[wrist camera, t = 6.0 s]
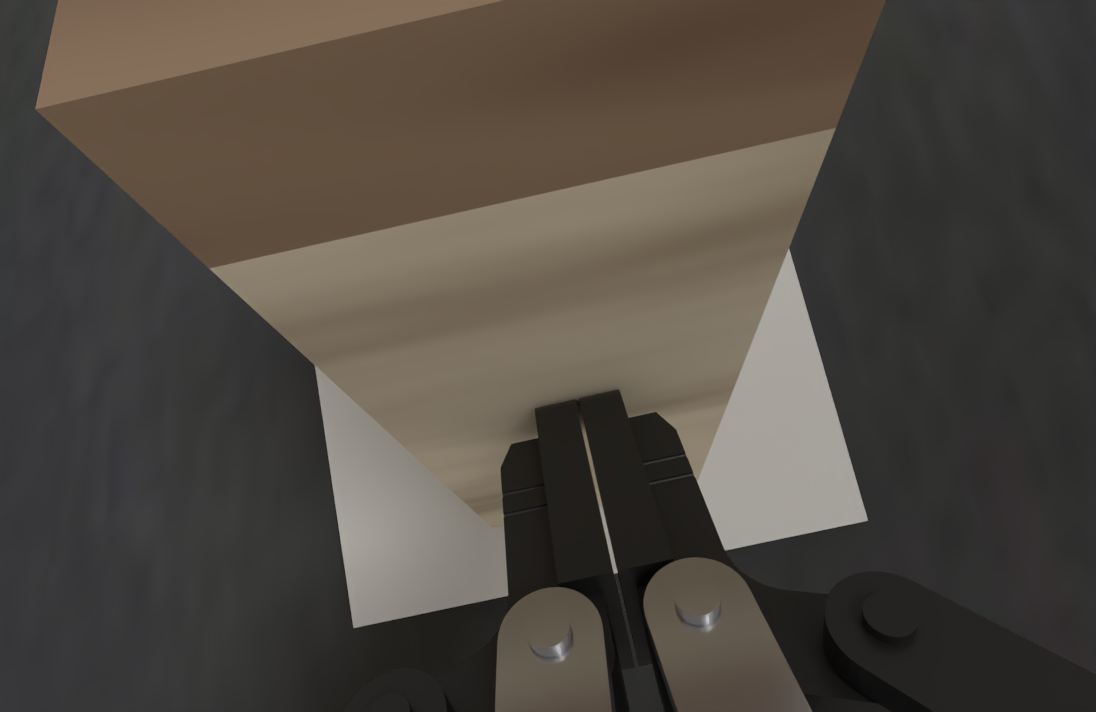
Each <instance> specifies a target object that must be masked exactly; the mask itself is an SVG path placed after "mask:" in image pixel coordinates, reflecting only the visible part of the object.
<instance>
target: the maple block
mask: <svg viewBox="0 0 1096 712" xmlns="http://www.w3.org/2000/svg"><path fill="white" fill-rule="evenodd" d="M885 1H886V0H58V4H57V9H56V14H55V18H54V23H53V28H52V33H51V37H50V42H49V47H48V52H47V56H46V61H45V66H44V71H43V75H42V80H41V85H40V90H39V94H38V99H37V104H36V110H37V111H38V112H39V113H40V114H41V115H42V116H43V117H44V118H46V119H47V120H48V121H49V122H50V123H51V124H52V125H53V126H54V127H55V128H56V129H58V130H59V131H60V132H61V133H62V134H63V135H64V136H65V137H66V138H67V139H68V140H70V141H71V142H72V143H73V144H74V145H75V146H76V147H77V148H78V149H79V150H80V151H82V152H83V153H84V154H85V155H86V156H87V157H88V158H89V159H90V160H91V161H92V162H94V163H95V164H96V165H97V166H98V167H99V168H100V169H101V170H102V171H103V172H104V173H106V174H107V175H108V176H109V177H110V178H111V179H112V180H113V181H114V182H115V183H116V184H118V185H119V186H120V187H121V188H122V189H123V190H124V191H125V192H126V193H127V194H128V195H130V196H131V197H132V198H133V199H134V200H135V201H136V202H137V203H138V204H139V205H140V206H142V207H143V208H144V209H145V210H146V211H147V212H148V213H149V214H150V215H151V216H152V217H154V218H155V219H156V220H157V221H158V222H159V223H160V224H161V225H162V226H163V227H164V228H166V229H167V230H168V231H169V232H170V233H171V234H172V235H173V236H174V237H175V238H176V239H178V240H179V241H180V242H181V243H182V244H183V245H184V246H185V247H186V248H187V249H188V250H190V251H191V252H192V253H193V254H194V255H195V256H196V257H197V258H198V259H199V260H200V261H202V262H203V263H204V264H205V265H206V266H207V267H208V268H209V269H210V270H211V271H212V272H214V273H215V274H216V275H217V276H218V277H219V278H220V279H221V280H222V281H223V282H224V283H226V284H227V285H228V286H229V287H230V288H231V289H232V290H233V291H234V292H235V293H236V294H238V295H239V296H240V297H241V298H242V299H243V300H244V301H245V302H246V303H247V304H248V305H250V306H251V307H252V308H253V309H254V310H255V311H256V312H257V313H258V314H259V315H260V316H262V317H263V318H264V319H265V320H266V321H267V322H268V323H269V324H270V325H271V326H272V327H274V328H275V329H276V330H277V331H278V332H279V333H280V334H281V335H282V336H283V337H284V338H286V339H287V340H288V341H289V342H290V343H291V344H292V345H293V346H294V347H295V348H296V349H298V350H299V351H300V352H301V353H302V354H303V355H304V356H305V357H306V358H307V359H308V360H310V361H311V362H312V363H313V364H314V365H315V366H316V367H317V368H318V369H319V370H320V371H322V372H323V373H324V374H325V375H326V376H327V377H328V378H329V379H330V380H331V381H332V382H334V383H335V384H336V385H337V386H338V387H339V388H340V389H341V390H342V391H343V392H344V393H346V394H347V395H348V396H349V397H350V398H351V399H352V400H353V401H354V402H355V403H356V404H358V405H359V406H360V407H361V408H362V409H363V410H364V411H365V412H366V413H367V414H368V415H370V416H371V417H372V418H373V419H374V420H375V421H376V422H377V423H378V424H379V425H380V426H382V427H383V428H384V429H385V430H386V431H387V432H388V433H389V434H390V435H391V436H392V437H394V438H395V439H396V440H397V441H398V442H399V443H400V444H401V445H402V446H403V447H404V448H406V449H407V450H408V451H409V452H410V453H411V454H412V455H413V456H414V457H415V458H416V459H418V460H419V461H420V462H421V463H422V464H423V465H424V466H425V467H426V468H427V469H428V470H430V471H431V472H432V473H433V474H434V475H435V476H436V477H437V478H438V479H439V480H440V481H442V482H443V483H444V484H445V485H446V486H447V487H448V488H449V489H450V490H451V491H452V492H454V493H455V494H456V495H457V496H458V497H459V498H460V499H461V500H462V501H463V502H464V503H466V504H467V505H468V506H469V507H470V508H471V509H472V510H473V511H474V512H475V513H476V514H478V515H479V516H480V517H481V518H482V519H483V520H484V521H485V522H486V523H487V524H488V525H490V526H491V527H497V526H502V525H504V514H503V501H502V498H503V495H502V485H501V469H500V468H501V466H502V463H503V461H504V459H505V457H506V454H507V452H508V450H509V447H510V445H511V444H513V443H518V442H522V441H527V440H531V439H536V438H538V432H537V425H536V417H535V408H538V407H543V406H547V405H552V404H556V403H561V402H565V401H570V400H574V399H575V402H576V406H577V411H578V415H579V420H580V424H581V428H582V433H583V437H584V442H585V446H586V451H587V455H588V460H589V464H590V468H591V473H592V477H593V482H594V486H595V491H596V495H597V500H598V504H599V505H601V504H602V502H601V497H600V493H599V488H598V484H597V480H596V475H595V471H594V466H593V462H592V457H591V453H590V448H589V443H588V439H587V434H586V430H585V425H584V421H583V416H582V412H581V407H580V403H579V398H582V397H587V396H591V395H596V394H600V393H605V392H609V391H614V390H618V389H619V391H620V393H621V396H622V399H623V402H624V405H625V409H626V412H627V415H628V418H630V417H635V416H639V415H644V414H648V413H653V412H657V413H658V414H659V415H660V416H661V417H662V418H664V419H665V420H666V421H667V422H668V423H669V424H671V425H672V426H673V427H674V428H675V429H676V430H677V433H678V435H679V438H680V440H681V443H682V445H683V448H684V450H685V453H686V457H687V458H688V460H689V463H690V465H691V468H692V470H693V474H694V477H695V478H696V480H697V481H698V479H699V476H700V474H701V471H702V469H703V466H704V464H705V461H706V458H707V456H708V453H709V451H710V448H711V446H712V443H713V441H714V438H715V435H716V433H717V430H718V428H719V425H720V423H721V420H722V418H723V415H724V413H725V410H726V407H727V405H728V402H729V400H730V397H731V395H732V392H733V390H734V387H735V384H736V382H737V379H738V377H739V374H740V372H741V369H742V367H743V364H744V361H745V359H746V356H747V354H748V351H749V349H750V346H751V344H752V341H753V338H754V336H755V333H756V331H757V328H758V326H759V323H760V321H761V318H762V315H763V313H764V310H765V308H766V305H767V303H768V300H769V298H770V295H771V292H772V290H773V287H774V285H775V282H776V280H777V277H778V275H779V272H780V269H781V267H782V264H783V262H784V259H785V257H786V254H787V252H788V249H789V247H790V244H791V241H792V239H793V236H794V234H795V231H796V229H797V226H798V224H799V221H800V218H801V216H802V213H803V211H804V208H805V206H806V203H807V201H808V198H809V195H810V193H811V190H812V188H813V185H814V183H815V180H816V178H817V175H818V172H819V170H820V167H821V165H822V162H823V160H824V157H825V155H826V152H827V149H828V147H829V144H830V142H831V139H832V137H833V134H834V132H835V129H836V126H837V124H838V121H839V119H840V116H841V114H842V111H843V109H844V106H845V103H846V101H847V98H848V96H849V93H850V91H851V88H852V86H853V83H854V80H855V78H856V75H857V73H858V70H859V68H860V65H861V63H862V60H863V58H864V55H865V52H866V50H867V47H868V45H869V42H870V40H871V37H872V35H873V32H874V29H875V27H876V24H877V22H878V19H879V17H880V14H881V12H882V9H883V6H884V4H885Z"/></svg>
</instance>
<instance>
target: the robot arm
mask: <svg viewBox="0 0 1096 712" xmlns="http://www.w3.org/2000/svg"><path fill="white" fill-rule="evenodd" d="M579 403H580V407H581V412H582V416H583V421H584V425H585V430H586V434H587V439H588V443H589V448H590V453H591V457H592V462H593V466H594V471H595V475H596V480H597V484H598V488H599V493H600V497H601V502H602V506H603V510H604V515H605V519H606V524H607V528H608V532H609V537H610V541H611V545H612V550H613V554H614V559H615V563H616V567H617V572H618V576H619V581H620V585H621V589H622V594H623V598H624V603H625V607H626V611H627V616H628V620H629V625H630V629H631V633H632V638H633V642H634V646H635V651H636V655H637V660H638V664H639V666H642V665H646V664H651V663H652V664H653V668H654V672H655V676H656V680H657V685H658V689H659V693H660V697H661V701H662V707H663V712H1096V675H1095V674H1093V673H1091V672H1089V671H1087V670H1085V669H1083V668H1081V667H1080V666H1078V665H1076V664H1074V663H1072V662H1070V661H1068V660H1066V659H1064V658H1062V657H1060V656H1058V655H1056V654H1054V653H1052V652H1050V651H1048V650H1046V649H1044V648H1042V647H1040V646H1038V645H1036V644H1035V643H1033V642H1031V641H1029V640H1027V639H1025V638H1023V637H1021V636H1019V635H1017V634H1015V633H1013V632H1011V631H1009V630H1007V629H1005V628H1003V627H1001V626H999V625H997V624H995V623H993V622H991V621H990V620H988V619H986V618H984V617H982V616H980V615H978V614H976V613H974V612H972V611H970V610H968V609H966V608H964V607H962V606H960V605H958V604H956V603H954V602H952V601H950V600H948V599H947V598H945V597H943V596H941V595H939V594H937V593H935V592H933V591H931V590H929V589H927V588H925V587H923V586H921V585H919V584H917V583H915V582H913V581H911V580H909V579H906V578H904V577H901V576H898V575H894V574H890V573H884V572H863V573H858V574H854V575H851V576H849V577H847V578H845V579H843V580H842V581H840V582H839V583H838V584H836V586H835V587H834V588H833V589H832V590H831V592H830V594H819V593H808V592H797V591H787V590H781V589H776V588H772V587H769V586H766V585H763V584H761V583H759V582H756V581H755V580H753V579H751V578H750V577H748V576H747V575H745V574H744V573H743V572H741V571H740V570H739V569H738V568H737V567H736V566H735V565H734V564H733V563H732V561H731V560H730V559H729V557H728V556H727V554H726V552H725V550H724V547H723V545H722V542H721V540H720V537H719V535H718V532H717V530H716V527H715V525H714V522H713V520H712V517H711V515H710V512H709V510H708V508H707V505H706V503H705V500H704V498H703V495H702V493H701V490H700V488H699V485H698V483H697V480H696V478H695V477H694V474H693V470H692V468H691V465H690V463H689V460H688V458H687V457H686V453H685V450H684V448H683V445H682V443H681V440H680V438H679V435H678V433H677V430H676V429H675V428H674V427H673V426H672V425H671V424H669V423H668V422H667V421H666V420H665V419H664V418H662V417H661V416H660V415H659V414H658V413H657V412H653V413H648V414H644V415H639V416H635V417H630V418H628V415H627V412H626V409H625V405H624V402H623V399H622V396H621V393H620V391H619V389H618V390H614V391H609V392H605V393H600V394H596V395H591V396H587V397H582V398H579ZM535 417H536V425H537V432H538V438H536V439H531V440H527V441H522V442H518V443H513V444H511V445H510V447H509V450H508V452H507V454H506V457H505V459H504V461H503V463H502V466H501V468H500V469H501V485H502V495H503V498H502V501H503V514H504V534H505V550H506V567H507V583H508V607H507V612H506V615H505V618H504V620H503V622H502V624H501V626H500V628H499V630H498V632H497V633H496V635H495V636H494V637H493V639H492V640H491V641H490V642H489V643H488V644H487V645H486V646H485V647H484V648H483V649H482V650H480V651H479V652H478V653H477V654H475V655H474V656H472V657H471V658H469V659H467V660H466V661H464V662H462V663H460V664H458V665H457V666H455V667H453V668H451V669H450V670H448V671H446V672H444V673H443V674H441V675H439V676H437V677H435V678H433V677H432V676H431V675H429V674H428V673H426V672H424V671H422V670H419V669H414V668H399V669H394V670H391V671H387V672H385V673H383V674H381V675H379V676H377V677H375V678H374V679H372V680H371V681H369V682H368V683H367V684H365V685H364V686H363V687H362V688H361V689H360V690H359V691H358V692H357V693H356V694H355V695H354V697H353V698H352V699H351V700H350V701H349V703H348V704H347V705H346V707H345V708H344V709H343V710H342V712H629V705H628V700H627V695H626V690H625V685H624V680H623V676H622V671H621V670H624V669H629V668H634V662H633V658H632V653H631V649H630V644H629V640H628V635H627V631H626V626H625V622H624V617H623V613H622V608H621V604H620V599H619V595H618V590H617V586H616V581H615V577H614V572H613V568H612V563H611V559H610V554H609V549H608V545H607V540H606V536H605V531H604V527H603V522H602V518H601V513H600V509H599V504H598V500H597V495H596V491H595V486H594V482H593V477H592V473H591V468H590V464H589V460H588V455H587V451H586V446H585V442H584V437H583V433H582V428H581V424H580V420H579V415H578V411H577V406H576V402H575V399H574V400H570V401H565V402H561V403H556V404H552V405H547V406H543V407H538V408H535Z"/></svg>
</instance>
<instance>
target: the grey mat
mask: <svg viewBox="0 0 1096 712" xmlns="http://www.w3.org/2000/svg"><path fill="white" fill-rule="evenodd" d="M315 370H316V376H317V383H318V390H319V397H320V404H321V410H322V417H323V424H324V431H325V438H326V444H327V451H328V458H329V465H330V472H331V478H332V485H333V492H334V499H335V506H336V512H337V519H338V526H339V533H340V540H341V546H342V553H343V560H344V567H345V574H346V580H347V587H348V594H349V601H350V608H351V614H352V621H353V628H356V627H361V626H366V625H371V624H376V623H380V622H385V621H390V620H395V619H399V618H404V617H409V616H414V615H419V614H423V613H428V612H433V611H438V610H443V609H447V608H452V607H457V606H462V605H467V604H471V603H476V602H481V601H486V600H490V599H495V598H500V597H505V596H508V583H507V567H506V550H505V534H504V525H502V526H497V527H491V526H490V525H488V524H487V523H486V522H485V521H484V520H483V519H482V518H481V517H480V516H479V515H478V514H476V513H475V512H474V511H473V510H472V509H471V508H470V507H469V506H468V505H467V504H466V503H464V502H463V501H462V500H461V499H460V498H459V497H458V496H457V495H456V494H455V493H454V492H452V491H451V490H450V489H449V488H448V487H447V486H446V485H445V484H444V483H443V482H442V481H440V480H439V479H438V478H437V477H436V476H435V475H434V474H433V473H432V472H431V471H430V470H428V469H427V468H426V467H425V466H424V465H423V464H422V463H421V462H420V461H419V460H418V459H416V458H415V457H414V456H413V455H412V454H411V453H410V452H409V451H408V450H407V449H406V448H404V447H403V446H402V445H401V444H400V443H399V442H398V441H397V440H396V439H395V438H394V437H392V436H391V435H390V434H389V433H388V432H387V431H386V430H385V429H384V428H383V427H382V426H380V425H379V424H378V423H377V422H376V421H375V420H374V419H373V418H372V417H371V416H370V415H368V414H367V413H366V412H365V411H364V410H363V409H362V408H361V407H360V406H359V405H358V404H356V403H355V402H354V401H353V400H352V399H351V398H350V397H349V396H348V395H347V394H346V393H344V392H343V391H342V390H341V389H340V388H339V387H338V386H337V385H336V384H335V383H334V382H332V381H331V380H330V379H329V378H328V377H327V376H326V375H325V374H324V373H323V372H322V371H320V370H319V369H318V368H317V367H316V366H315ZM697 483H698V485H699V488H700V490H701V493H702V495H703V498H704V500H705V503H706V505H707V508H708V510H709V512H710V515H711V517H712V520H713V522H714V525H715V527H716V530H717V532H718V535H719V537H720V540H721V542H722V545H723V547H724V550H730V549H735V548H739V547H744V546H749V545H754V544H759V543H763V542H768V541H773V540H778V539H783V538H787V537H792V536H797V535H802V534H807V533H811V532H816V531H821V530H826V529H830V528H835V527H840V526H845V525H850V524H854V523H859V522H864V521H868V519H867V515H866V512H865V509H864V505H863V502H862V498H861V495H860V491H859V488H858V484H857V481H856V478H855V474H854V471H853V467H852V464H851V460H850V457H849V453H848V450H847V447H846V443H845V440H844V436H843V433H842V429H841V426H840V422H839V419H838V415H837V412H836V409H835V405H834V402H833V398H832V395H831V391H830V388H829V384H828V381H827V378H826V374H825V371H824V367H823V364H822V360H821V357H820V353H819V350H818V347H817V343H816V340H815V336H814V333H813V329H812V326H811V322H810V319H809V316H808V312H807V309H806V305H805V302H804V298H803V295H802V291H801V288H800V285H799V281H798V278H797V274H796V271H795V267H794V264H793V260H792V257H791V253H790V250H789V249H788V252H787V254H786V257H785V259H784V262H783V264H782V267H781V269H780V272H779V275H778V277H777V280H776V282H775V285H774V287H773V290H772V292H771V295H770V298H769V300H768V303H767V305H766V308H765V310H764V313H763V315H762V318H761V321H760V323H759V326H758V328H757V331H756V333H755V336H754V338H753V341H752V344H751V346H750V349H749V351H748V354H747V356H746V359H745V361H744V364H743V367H742V369H741V372H740V374H739V377H738V379H737V382H736V384H735V387H734V390H733V392H732V395H731V397H730V400H729V402H728V405H727V407H726V410H725V413H724V415H723V418H722V420H721V423H720V425H719V428H718V430H717V433H716V435H715V438H714V441H713V443H712V446H711V448H710V451H709V453H708V456H707V458H706V461H705V464H704V466H703V469H702V471H701V474H700V476H699V479H698V481H697ZM599 509H600V513H601V518H602V522H603V527H604V531H605V536H606V540H607V545H608V549H609V554H610V559H611V563H612V568H613V572H614V574H615V573H618V572H617V567H616V563H615V559H614V554H613V550H612V545H611V541H610V537H609V532H608V528H607V524H606V519H605V515H604V510H603V506H602V504H601V505H599Z"/></svg>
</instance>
